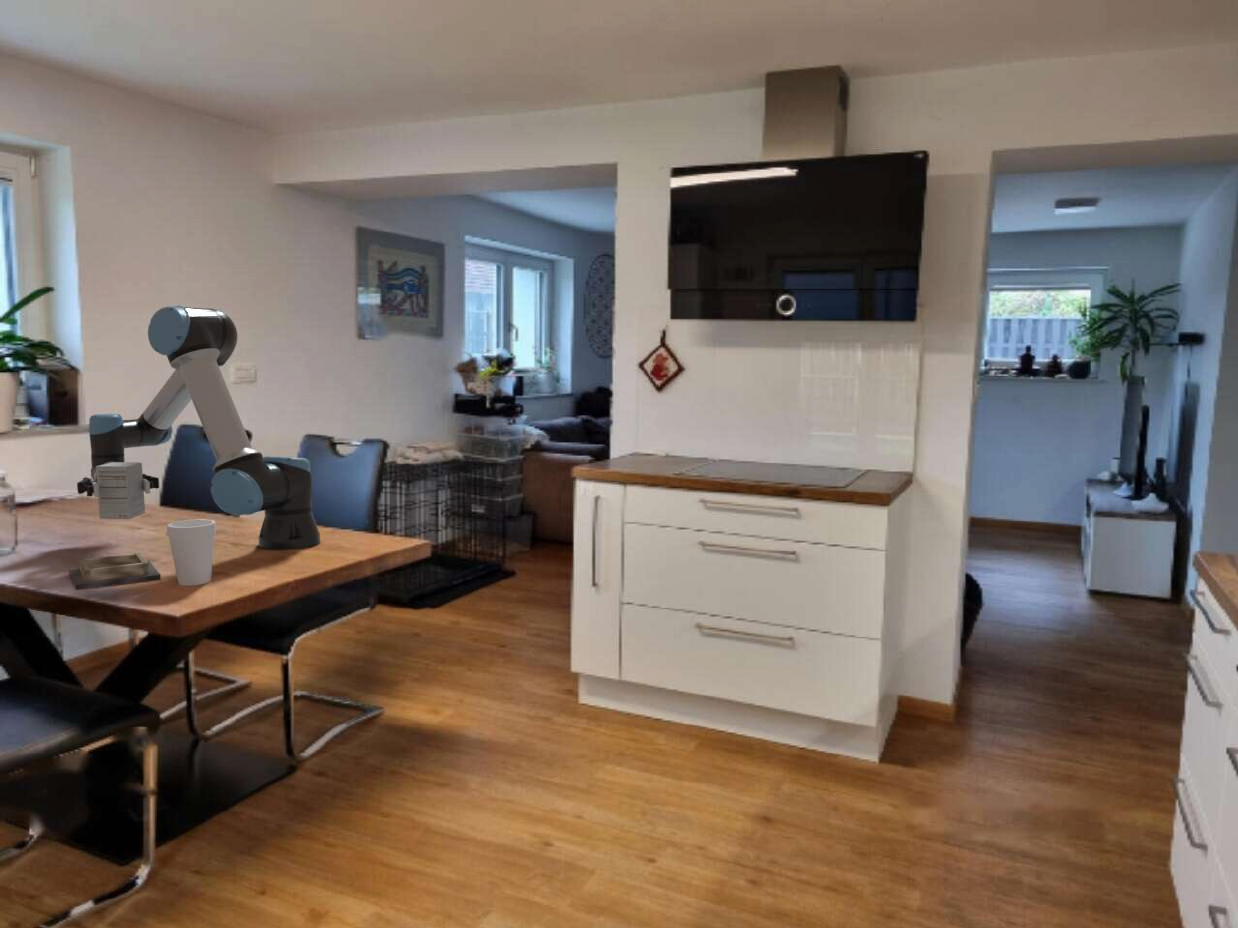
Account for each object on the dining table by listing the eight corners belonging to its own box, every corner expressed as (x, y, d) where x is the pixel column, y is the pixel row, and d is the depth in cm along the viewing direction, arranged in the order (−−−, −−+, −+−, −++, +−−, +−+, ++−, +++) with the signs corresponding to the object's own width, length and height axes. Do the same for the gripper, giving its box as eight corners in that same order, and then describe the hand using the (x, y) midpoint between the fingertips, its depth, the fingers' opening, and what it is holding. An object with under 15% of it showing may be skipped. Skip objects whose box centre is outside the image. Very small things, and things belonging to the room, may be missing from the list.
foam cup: (225, 576, 194) (222, 519, 192) (207, 587, 185) (204, 527, 183) (182, 576, 193) (179, 519, 192) (162, 587, 184) (158, 527, 183)
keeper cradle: (149, 564, 204) (148, 550, 203) (160, 578, 191) (159, 563, 191) (69, 574, 194) (68, 559, 194) (75, 590, 182) (74, 573, 181)
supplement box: (114, 513, 209) (111, 461, 208) (146, 513, 210) (143, 462, 208) (98, 519, 202) (94, 465, 200) (130, 519, 202) (127, 465, 201)
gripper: (162, 489, 226) (176, 501, 208) (61, 496, 214) (67, 510, 196) (161, 460, 225) (175, 470, 207) (59, 466, 213) (64, 477, 195)
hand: (122, 489), depth 201 cm, fingers closed on supplement box, 10 cm apart
